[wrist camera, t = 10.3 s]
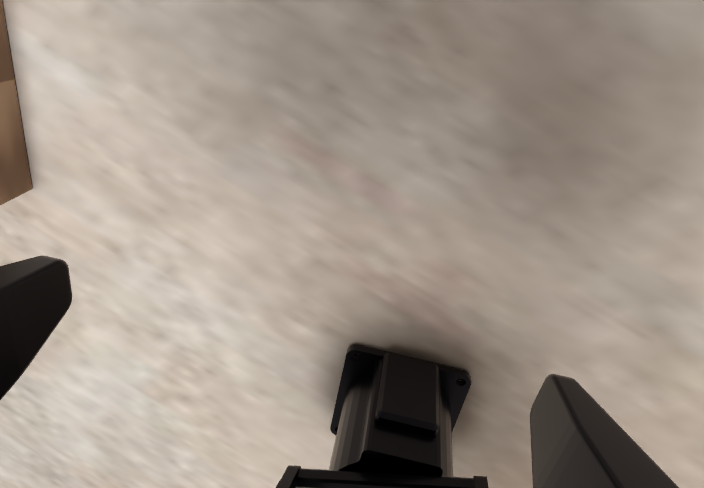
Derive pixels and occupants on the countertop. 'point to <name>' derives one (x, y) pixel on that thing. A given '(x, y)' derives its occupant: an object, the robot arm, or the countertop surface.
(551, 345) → the countertop surface
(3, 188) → the brown slotted board
